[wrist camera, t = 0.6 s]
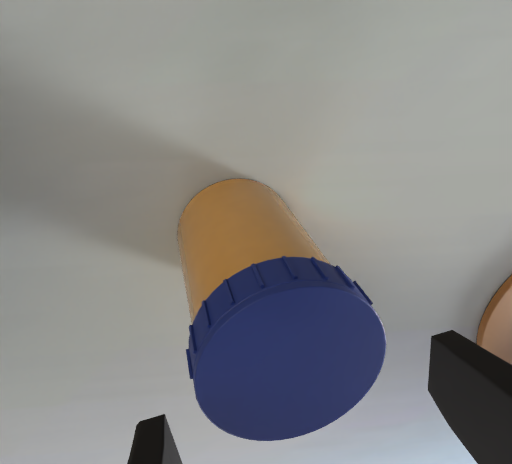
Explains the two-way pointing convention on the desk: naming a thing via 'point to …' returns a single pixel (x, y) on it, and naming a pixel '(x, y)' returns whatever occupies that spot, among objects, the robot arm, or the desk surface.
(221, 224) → the jar
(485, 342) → the coaster
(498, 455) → the robot arm
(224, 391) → the lid
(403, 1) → the desk surface
